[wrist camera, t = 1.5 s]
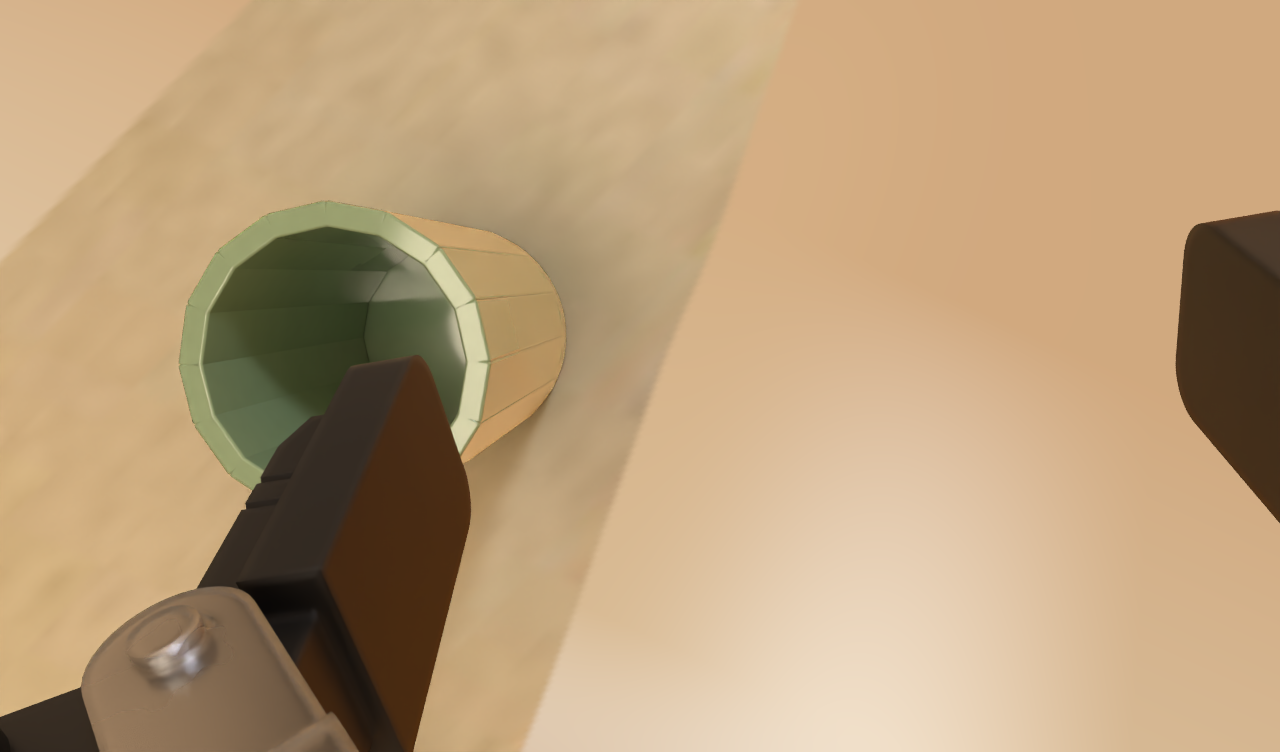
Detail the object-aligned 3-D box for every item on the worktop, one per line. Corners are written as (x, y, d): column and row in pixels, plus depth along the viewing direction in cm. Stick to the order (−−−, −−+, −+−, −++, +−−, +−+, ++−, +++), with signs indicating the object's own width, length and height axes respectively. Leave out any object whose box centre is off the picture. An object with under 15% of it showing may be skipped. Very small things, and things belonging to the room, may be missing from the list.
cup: (318, 307, 30) (118, 322, 20) (486, 185, 29) (365, 138, 19) (438, 479, 30) (300, 577, 20) (608, 362, 30) (550, 405, 20)
